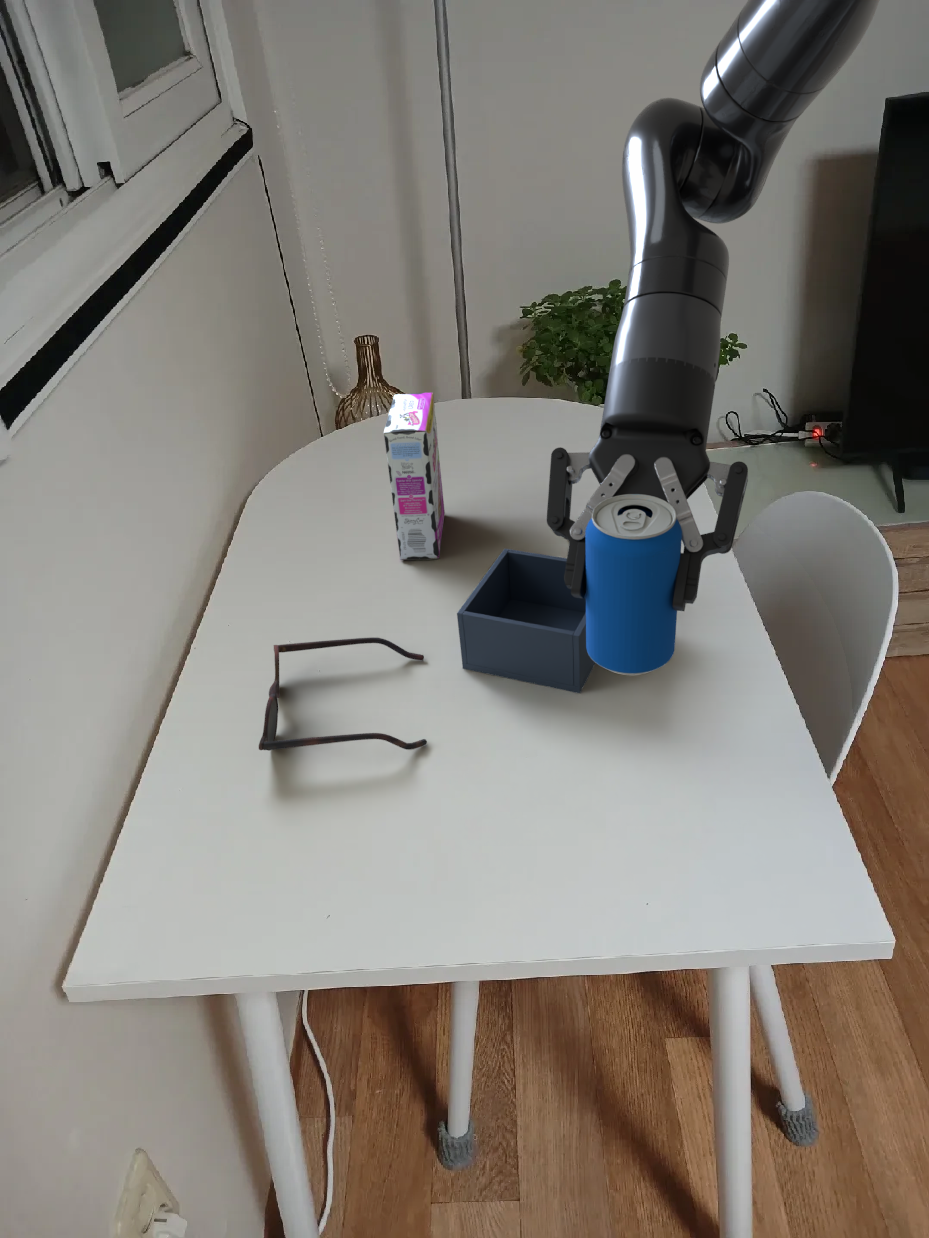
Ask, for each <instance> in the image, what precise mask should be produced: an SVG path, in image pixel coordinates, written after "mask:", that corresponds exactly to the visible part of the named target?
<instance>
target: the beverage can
mask: <svg viewBox="0 0 929 1238" xmlns="http://www.w3.org/2000/svg"><path fill="white" fill-rule="evenodd" d="M630 505H640V506H645V507H647V508H649V509H651V510H652V512H653V513H651V512H649V511H646V510H644V509H639V510H638V509H630V510H624V509H621V508H623V507H625V506H630ZM585 545H586V649H587V652H588V654H589V656H590V657H591V659H592V660H593V661H594V662H595V664H596V665H598V666H599V667H601V668H603V669H605V670H608V671H609V672H611V673H615V674H618V675H623V676H641V675H644V674H645V675H646V674H647V673H650V672H653V671H656V670H658V669H660V668H662V667H664V666H665V665H667V663H669V662H670V660H671V659H672V658H673V656H674V653H675V650H676V633H677V618H678V611H676V610H674V609H673V597H674V590H675V584H676V577H677V570H678V566H679V561H680V555H681V553H682V529H681V526H680V524H679V522H678V520H677V519H676V512H675V509H674V508H673V507H672V506H671V505H670V504H669V503H667V502H666V501H664V500H662V499H660V498H657V497H654V496H649V495H642V494H626V495H619V496H615V497H611V498H608V499H606V500H604V501H602V502H601V503H599V504H598V505H597V506H596V507H595V508H594V510H593V512H592V518H591V519H590V521H589V522H588V524H587V527H586V531H585Z"/></svg>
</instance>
